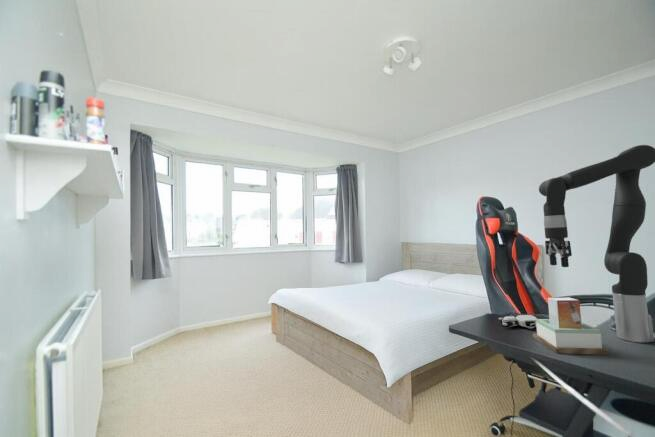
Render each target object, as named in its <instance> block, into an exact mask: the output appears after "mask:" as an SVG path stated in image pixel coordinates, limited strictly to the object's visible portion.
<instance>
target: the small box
mask: <svg viewBox="0 0 655 437" xmlns="http://www.w3.org/2000/svg"><path fill="white" fill-rule="evenodd" d="M547 303H548V304H547V306H548V319H550V325H552V326H554V327H556V328H571V329H582V325H581V322H582V314H581V304H580V303H581V302H580V300H579V299H576V298H572V297H547Z"/></svg>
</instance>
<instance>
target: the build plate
mask: <svg viewBox="0 0 655 437" xmlns="http://www.w3.org/2000/svg"><path fill="white" fill-rule="evenodd" d="M532 338H534V339H535V340H536V341H538V342H539V343H541V344H542V345H544V346H545V347H547V348H548V349H549V350H550V351H552V352H554V353H555V354H569V355H573V354H574V355H606V356H607V355H608V356H609V355H610V350H609V349H607V348H605V347H604V346H602V348H561V347H555V346H554V345H552V344H551V343H549V342H548V341H546V340H544V339H543V338H541V337H540V336H538V335H537V333H532Z"/></svg>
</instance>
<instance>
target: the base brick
mask: <svg viewBox="0 0 655 437" xmlns="http://www.w3.org/2000/svg"><path fill="white" fill-rule="evenodd" d="M581 325H582V329H571V328H556V327H554V326H552V325H550V319H549V318H537V319H536V326H537V327H536V334H537V335H538V336H540V337H541V338H543V339H544V340H546V341H548V342H549V343H551V344H552V345H554V346H555V347H561V348H602V347H603V346H602V343H603V342H602V335H601V334H602V333H601V329H599V328H596V327H594V326H592V325H590V324H587V323H585V322H582V321H581Z"/></svg>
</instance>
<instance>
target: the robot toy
mask: <svg viewBox="0 0 655 437" xmlns="http://www.w3.org/2000/svg"><path fill="white" fill-rule="evenodd" d="M536 319H538V318H537V317H536V316H534V315H533V314H519V315H516V317H515V316H513V315H510V316H507V315H506V316H502V317H498V320H499V322H500V324H502V325H503V326H506V327H509V328H513V327H518V326H521V327H522V328H523V327H524V328H527V329H529V330H531V329H534V328H537V326H536Z"/></svg>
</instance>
